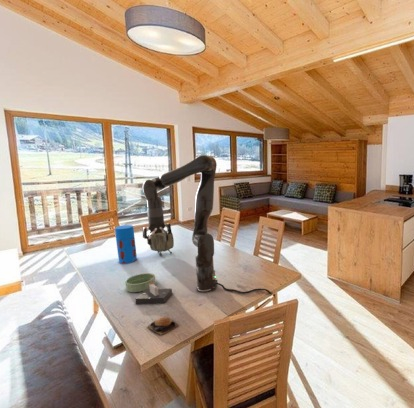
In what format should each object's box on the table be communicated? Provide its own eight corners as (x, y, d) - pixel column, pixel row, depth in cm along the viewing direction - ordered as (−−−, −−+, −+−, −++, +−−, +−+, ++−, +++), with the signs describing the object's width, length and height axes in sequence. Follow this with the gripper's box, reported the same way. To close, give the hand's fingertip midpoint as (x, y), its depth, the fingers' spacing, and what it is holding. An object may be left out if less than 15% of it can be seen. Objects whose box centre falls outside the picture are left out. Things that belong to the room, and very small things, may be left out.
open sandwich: (146, 327, 122) (145, 320, 121) (165, 318, 129) (164, 311, 128) (160, 336, 116) (159, 328, 116) (178, 325, 123) (177, 318, 123)
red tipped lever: (158, 294, 144) (157, 286, 143) (155, 296, 143) (154, 287, 142) (153, 290, 148) (152, 282, 148) (149, 291, 147) (149, 283, 146)
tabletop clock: (174, 253, 212) (172, 221, 208) (166, 257, 204) (163, 224, 199) (158, 251, 215) (155, 220, 210) (149, 256, 206) (146, 223, 202)
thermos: (130, 263, 192) (126, 229, 187) (115, 263, 192) (110, 229, 187) (140, 257, 202) (136, 225, 198) (125, 257, 203) (121, 224, 198)
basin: (160, 280, 167) (159, 273, 166) (148, 292, 152) (147, 284, 151) (135, 281, 166) (134, 273, 165) (120, 293, 151) (119, 285, 150)
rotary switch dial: (172, 293, 152) (172, 287, 152) (163, 303, 141) (163, 298, 141) (146, 293, 151) (145, 288, 151) (135, 304, 140) (134, 299, 140)
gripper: (144, 218, 144) (147, 248, 147) (171, 214, 155) (174, 241, 158) (138, 216, 149) (142, 244, 152) (166, 212, 160) (168, 239, 163)
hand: (158, 243), depth 155 cm, fingers open, 8 cm apart
